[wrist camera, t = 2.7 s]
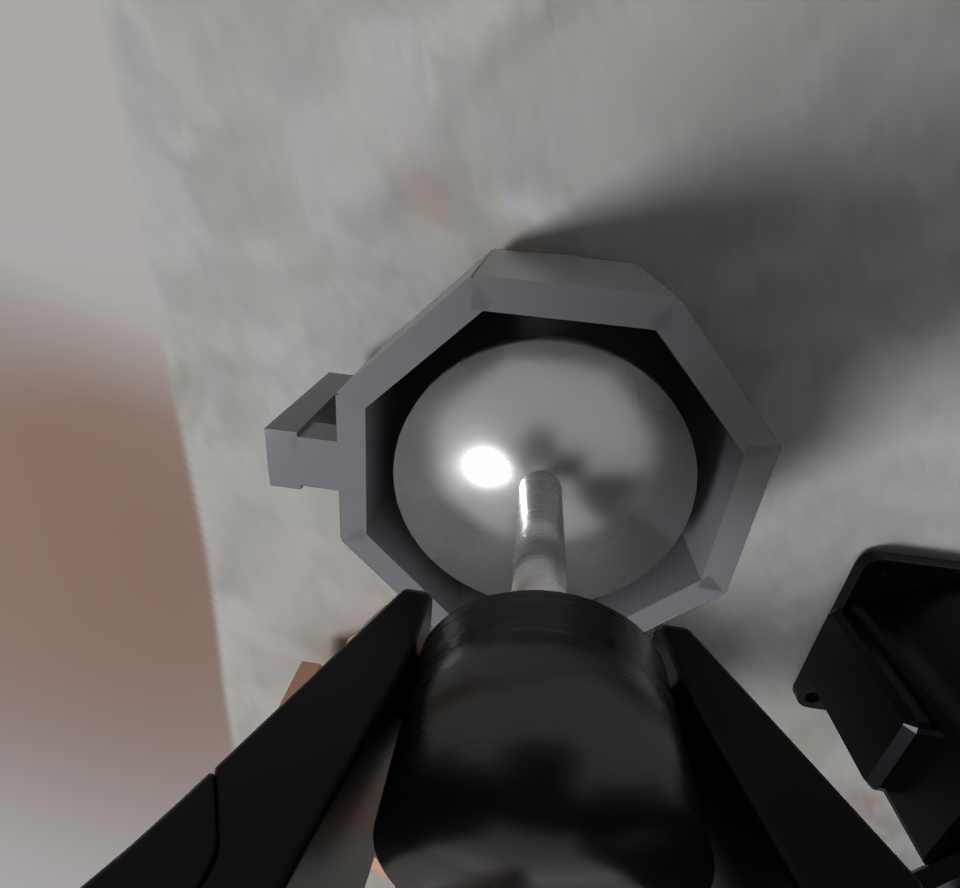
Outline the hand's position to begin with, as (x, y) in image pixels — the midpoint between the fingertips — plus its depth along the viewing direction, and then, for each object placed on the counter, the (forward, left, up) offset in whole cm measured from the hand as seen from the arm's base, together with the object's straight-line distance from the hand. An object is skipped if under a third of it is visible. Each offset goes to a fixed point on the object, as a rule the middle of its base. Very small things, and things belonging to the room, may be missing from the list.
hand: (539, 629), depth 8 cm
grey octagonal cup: (0, 0, -9) cm, 9 cm away
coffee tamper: (0, 0, -5) cm, 5 cm away
